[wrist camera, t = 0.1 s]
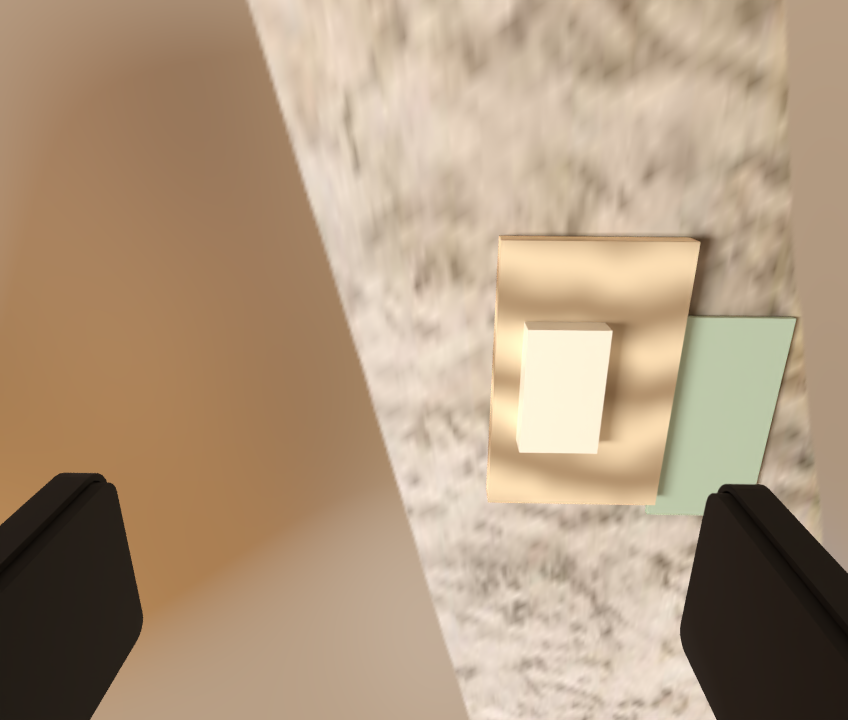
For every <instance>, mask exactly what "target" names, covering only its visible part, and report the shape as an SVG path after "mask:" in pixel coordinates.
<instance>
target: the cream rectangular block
mask: <svg viewBox="0 0 848 720" xmlns="http://www.w3.org/2000/svg"><path fill="white" fill-rule="evenodd" d="M612 332H613V331H612V330H611V328H610V327H609V326H608V325H607V324H606V323H605V322H524V334H523V348H522V363H521V377H520V392H519V406H518V420H517V435H516V441H517V445H518V449H519V453H581V454H597V450H598V443H599V435H600V427H601V419H602V411H603V403H604V395H605V387H606V379H607V372H608V364H609V356H610V348H611V340H612Z"/></svg>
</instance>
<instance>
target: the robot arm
mask: <svg viewBox="0 0 848 720" xmlns="http://www.w3.org/2000/svg"><path fill="white" fill-rule="evenodd" d="M142 623H143V614H142V609H141V603H140V599H139V594H138V589H137V584H136V580H135V576H134V570H133V566H132V561H131V556H130V551H129V547H128V542H127V537H126V532H125V528H124V523H123V518H122V514H121V508H120V504H119V499H118V494H117V491H116V487H115V486H114V485H113V484H111V483H107V482H106V479H105V478H104V477H103V475H101V474H98V473H60V474H58V475H57V476H55V477H54V478H53V479H52V480H51V481H50V482H48V483H47V484H46V485H45V486H44V487H43V488H42V489H40V491H38V492H37V493H36V494H35V495H34V496H33V497H32V498H30V499H29V500H28V501H27V502H26V503H25V504H24V505H23V506H21V507H20V508H19V509H18V510H17V511H16V512H15V513H14V514H13V515H12V516H10V517H9V518H8V519H7V520H6V521H5V522H4V523H2V524H1V526H0V720H90V719H91V717H92V715H93V714H94V712H95V710H96V709H97V707H98V705H99V704H100V702H101V700H102V698H103V697H104V695H105V694H106V692H107V690H108V688H109V687H110V685H111V683H112V682H113V680H114V678H115V677H116V675H117V673H118V671H119V670H120V668H121V667H122V665H123V663H124V662H125V660H126V658H127V656H128V655H129V653H130V651H131V650H132V648H133V646H134V645H135V643H136V641H137V639H138V637H139V635H140V632H141V629H142ZM680 636H681V642H682V646H683V649H684V652H685V654H686V656H687V658H688V660H689V663H690V665H691V667H692V669H693V671H694V673H695V675H696V677H697V679H698V681H699V684H700V686H701V688H702V690H703V692H704V694H705V696H706V698H707V700H708V703H709V705H710V707H711V709H712V711H713V713H714V715H715V717H716V719H717V720H848V573H847V572H846V571H845V570H844V569H843V568H842V567H841V566H840V565H839V564H838V563H837V562H836V560H835V559H834V558H833V557H832V556H831V555H830V554H829V553H828V552H827V551H826V550H825V549H824V548H823V546H822V545H821V544H820V543H819V542H818V541H817V540H816V539H815V538H814V537H813V536H812V535H811V534H810V532H809V531H808V530H807V529H806V528H805V527H804V526H803V525H802V524H801V523H800V522H799V521H798V520H797V519H796V517H795V516H794V515H793V514H792V513H791V512H790V511H789V510H788V509H787V508H786V507H785V506H784V505H783V503H782V502H781V501H780V500H779V499H778V498H777V497H776V496H775V495H774V494H773V493H772V492H771V491H770V489H768V488H767V487H766V486H764V485H760V484H724V485H722V486H721V487H720V488H719V490H718V492H717V493H712V494H710V495H709V496H708V498H707V501H706V505H705V509H704V514H703V519H702V524H701V529H700V534H699V538H698V543H697V548H696V553H695V558H694V562H693V567H692V572H691V577H690V582H689V586H688V591H687V596H686V601H685V606H684V611H683V615H682V620H681V626H680Z"/></svg>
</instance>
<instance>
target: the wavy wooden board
mask: <svg viewBox="0 0 848 720" xmlns="http://www.w3.org/2000/svg"><path fill="white" fill-rule="evenodd" d="M700 243H701V242H699V241H697V240H694V239H692V238H690V237H587V236H499V246H498V266H497V286H496V305H495V325H494V345H493V365H492V385H491V404H490V424H489V444H488V464H487V484H486V491H487V498H488V502H495V503H553V504H611V505H655V502H656V497H657V491H658V485H659V479H660V474H661V468H662V462H663V456H664V451H665V445H666V439H667V433H668V428H669V422H670V416H671V410H672V404H673V399H674V393H675V387H676V381H677V376H678V370H679V364H680V358H681V353H682V347H683V341H684V335H685V330H686V324H687V318H688V312H689V306H690V301H691V295H692V289H693V283H694V278H695V272H696V266H697V260H698V255H699V249H700ZM524 322H605V323H606V324H607V325H608V326H609V327H610V328H611V330H612V331H613V332H612V340H611V348H610V356H609V364H608V372H607V379H606V387H605V395H604V403H603V411H602V419H601V427H600V435H599V443H598V450H597V454H581V453H519V449H518V445H517V441H516V435H517V420H518V406H519V392H520V377H521V363H522V348H523V334H524Z"/></svg>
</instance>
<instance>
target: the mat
mask: <svg viewBox="0 0 848 720" xmlns="http://www.w3.org/2000/svg"><path fill="white" fill-rule="evenodd" d="M795 323H796V318H794V317H763V316H688V318H687V324H686V330H685V335H684V341H683V347H682V353H681V358H680V364H679V370H678V376H677V381H676V387H675V393H674V399H673V404H672V410H671V416H670V422H669V428H668V433H667V439H666V445H665V451H664V456H663V462H662V468H661V474H660V479H659V485H658V491H657V497H656V502H655V505H646V509H645V512H646V514H651V515H703V514H704V509H705V505H706V501H707V498H708V496H709V495H710V494H712V493H717V492H718V490H719V488H720V487H721V486H722V485H724V484H756V483H757V479H758V475H759V471H760V467H761V463H762V459H763V454H764V450H765V446H766V442H767V438H768V434H769V430H770V426H771V422H772V417H773V413H774V409H775V405H776V401H777V397H778V393H779V389H780V385H781V380H782V376H783V372H784V368H785V364H786V360H787V356H788V352H789V348H790V343H791V339H792V335H793V331H794V327H795Z"/></svg>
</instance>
